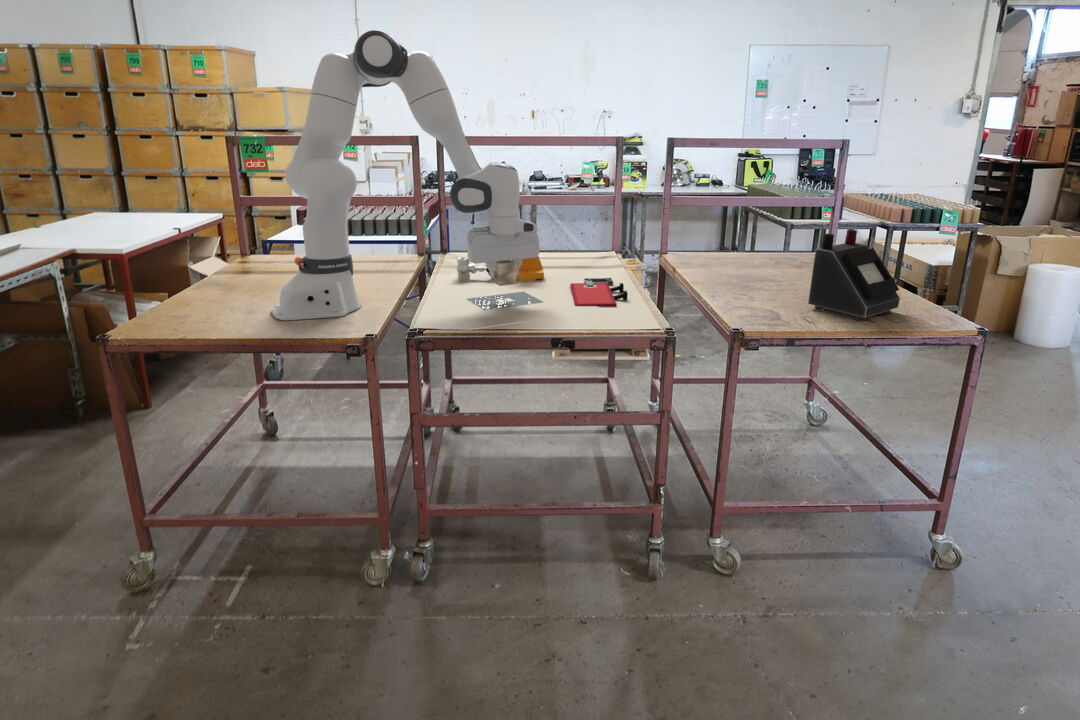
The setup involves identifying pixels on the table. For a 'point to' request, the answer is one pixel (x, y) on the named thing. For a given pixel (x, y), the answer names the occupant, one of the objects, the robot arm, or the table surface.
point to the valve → (468, 268)
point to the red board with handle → (596, 292)
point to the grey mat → (519, 298)
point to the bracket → (530, 269)
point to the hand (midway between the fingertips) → (504, 276)
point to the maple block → (505, 272)
